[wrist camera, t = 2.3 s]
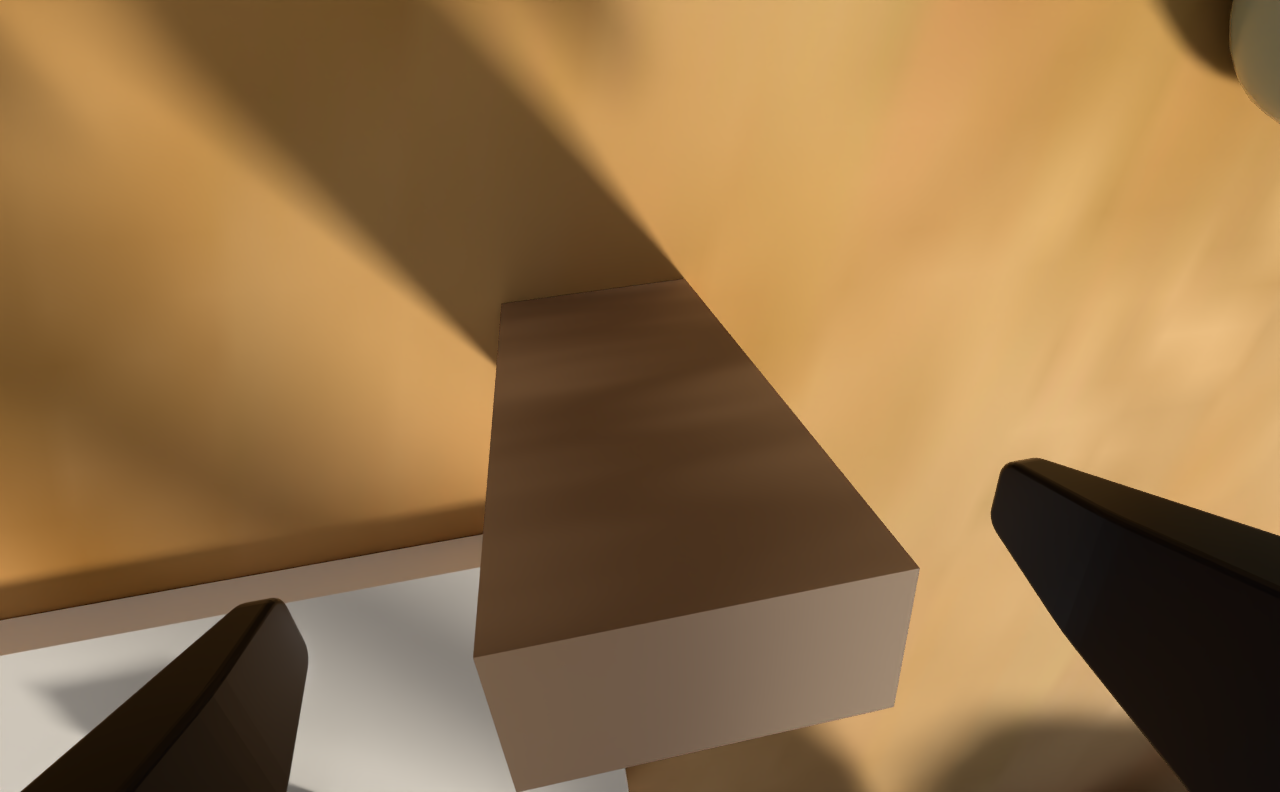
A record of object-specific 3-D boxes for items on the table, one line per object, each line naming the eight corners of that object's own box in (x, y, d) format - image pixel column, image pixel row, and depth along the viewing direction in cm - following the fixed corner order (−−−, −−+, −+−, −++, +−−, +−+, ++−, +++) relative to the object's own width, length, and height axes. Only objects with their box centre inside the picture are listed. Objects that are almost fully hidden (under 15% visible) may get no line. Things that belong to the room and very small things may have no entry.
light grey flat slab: (584, 516, 16) (588, 547, 15) (627, 778, 22) (632, 814, 21) (-301, 674, 14) (-369, 723, 13) (10, 920, 19) (-19, 969, 18)
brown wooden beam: (684, 278, 13) (920, 567, 5) (688, 360, 14) (893, 706, 6) (501, 303, 13) (473, 657, 5) (518, 386, 14) (515, 792, 6)
